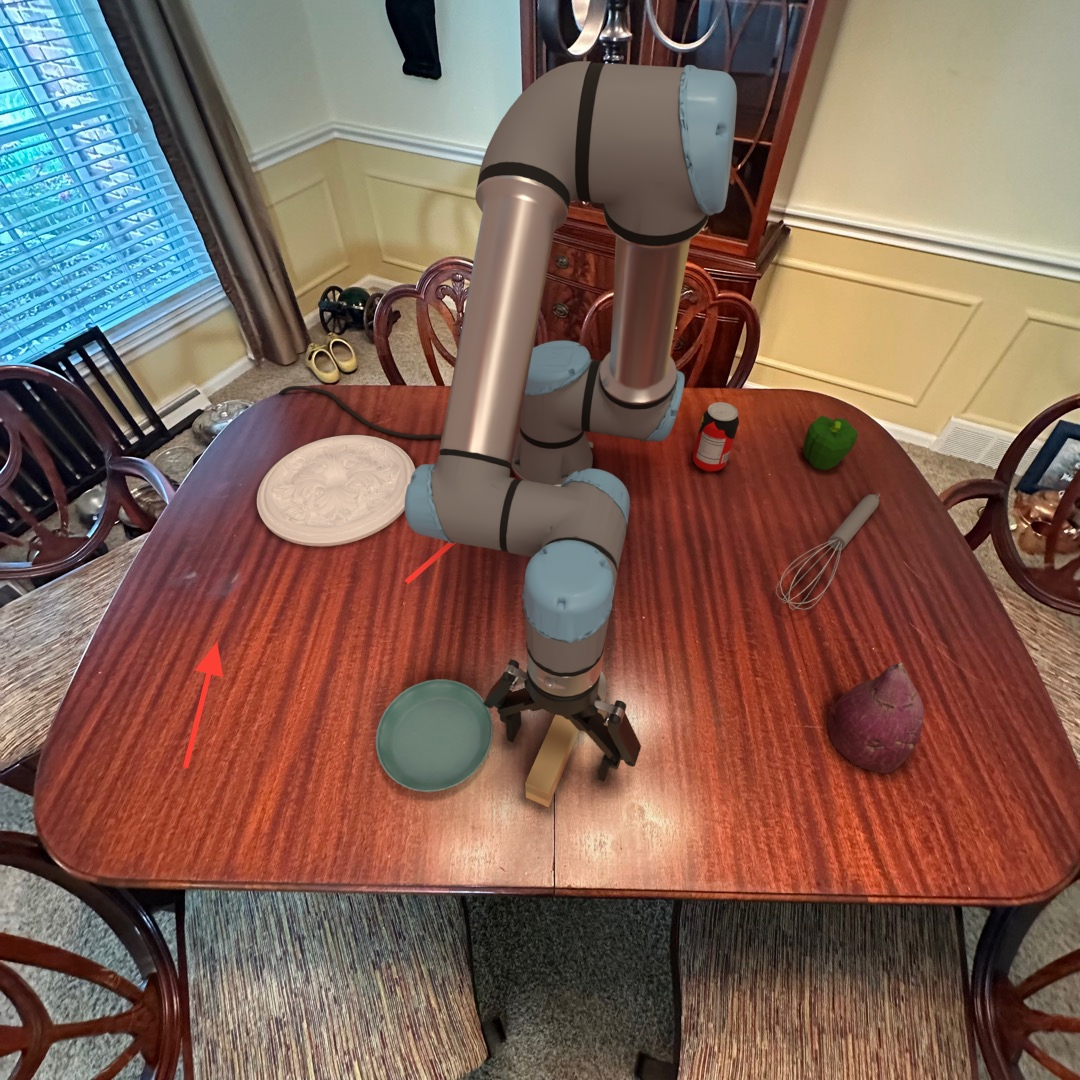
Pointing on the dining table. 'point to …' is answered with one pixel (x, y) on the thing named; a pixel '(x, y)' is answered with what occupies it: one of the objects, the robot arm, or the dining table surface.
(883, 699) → the vegetable
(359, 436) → the ceiling medallion
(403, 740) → the saucer
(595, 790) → the dining table surface
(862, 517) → the kitchen whisk
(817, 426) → the bell pepper
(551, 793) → the scoop
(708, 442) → the beverage can
